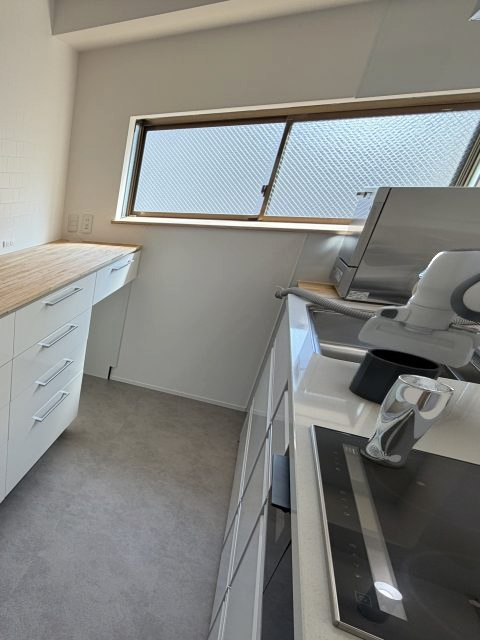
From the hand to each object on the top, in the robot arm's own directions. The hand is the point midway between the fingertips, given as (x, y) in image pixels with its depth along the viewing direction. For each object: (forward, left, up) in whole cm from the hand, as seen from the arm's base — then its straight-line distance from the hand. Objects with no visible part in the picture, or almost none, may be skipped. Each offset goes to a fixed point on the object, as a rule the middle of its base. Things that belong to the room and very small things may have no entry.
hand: (397, 369), depth 105 cm
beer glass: (-16, +48, -3) cm, 51 cm away
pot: (-4, +16, -2) cm, 16 cm away
